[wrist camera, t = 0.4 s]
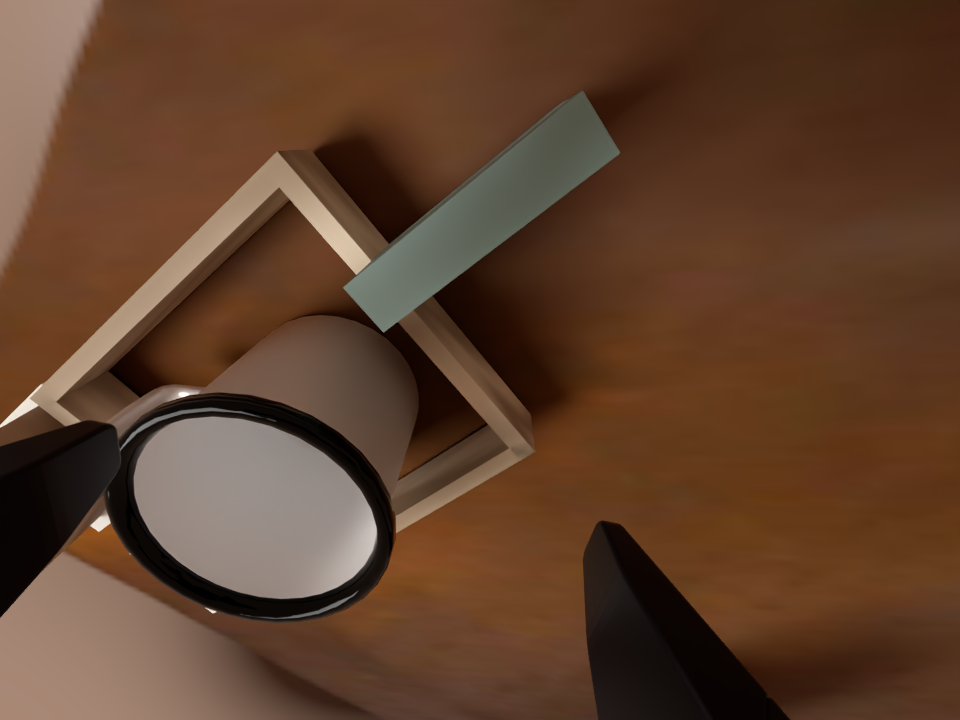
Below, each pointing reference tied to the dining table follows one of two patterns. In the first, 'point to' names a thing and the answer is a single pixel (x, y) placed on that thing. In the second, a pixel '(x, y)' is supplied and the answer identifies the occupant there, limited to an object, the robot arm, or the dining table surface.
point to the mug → (270, 474)
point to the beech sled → (373, 285)
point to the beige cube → (35, 425)
